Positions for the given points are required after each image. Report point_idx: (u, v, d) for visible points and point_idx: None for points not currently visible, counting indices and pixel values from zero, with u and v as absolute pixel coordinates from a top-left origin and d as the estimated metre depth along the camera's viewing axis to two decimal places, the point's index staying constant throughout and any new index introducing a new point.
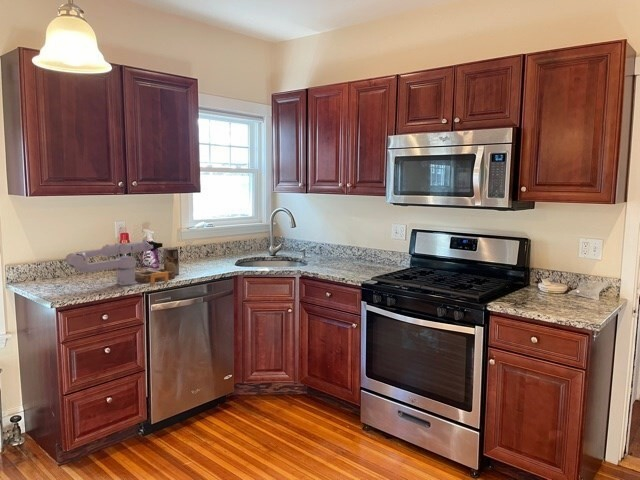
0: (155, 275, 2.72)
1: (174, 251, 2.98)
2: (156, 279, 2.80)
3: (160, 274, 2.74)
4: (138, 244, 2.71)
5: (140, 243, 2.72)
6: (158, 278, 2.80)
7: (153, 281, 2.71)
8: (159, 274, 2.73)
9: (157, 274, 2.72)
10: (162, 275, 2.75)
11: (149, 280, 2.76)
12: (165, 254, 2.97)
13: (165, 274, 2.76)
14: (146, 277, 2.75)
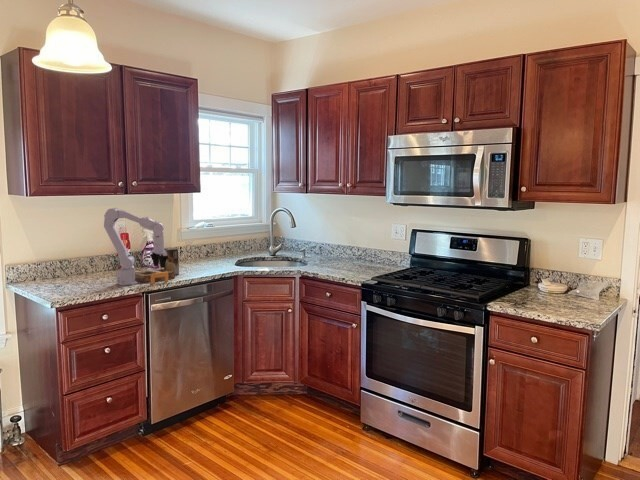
0: (155, 275, 2.72)
1: (174, 251, 2.98)
2: (156, 279, 2.80)
3: (160, 274, 2.74)
4: (163, 243, 2.72)
5: (163, 245, 2.72)
6: (158, 278, 2.80)
7: (153, 281, 2.71)
8: (159, 274, 2.73)
9: (157, 274, 2.72)
10: (162, 275, 2.75)
11: (149, 280, 2.76)
12: None
13: (165, 274, 2.76)
14: (146, 277, 2.75)
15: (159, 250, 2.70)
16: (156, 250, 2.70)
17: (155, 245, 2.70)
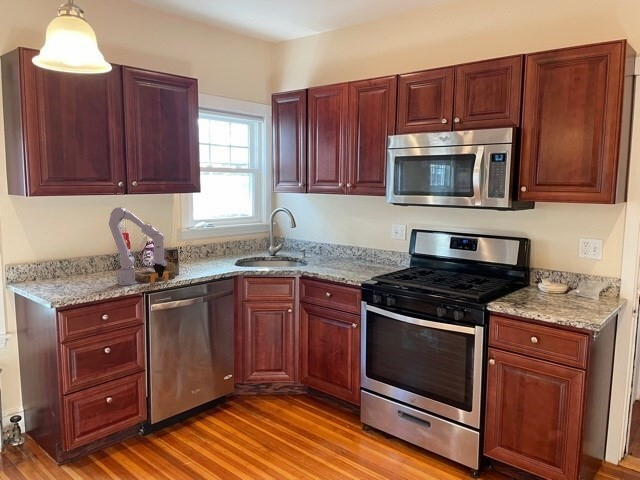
0: (155, 275, 2.72)
1: (174, 251, 2.98)
2: (156, 279, 2.80)
3: None
4: (163, 253, 2.72)
5: (163, 256, 2.73)
6: (158, 278, 2.80)
7: (153, 281, 2.71)
8: None
9: (157, 274, 2.72)
10: None
11: (149, 280, 2.76)
12: (165, 254, 2.97)
13: (165, 274, 2.76)
14: (146, 277, 2.75)
15: (159, 260, 2.71)
16: (156, 260, 2.70)
17: (155, 255, 2.70)
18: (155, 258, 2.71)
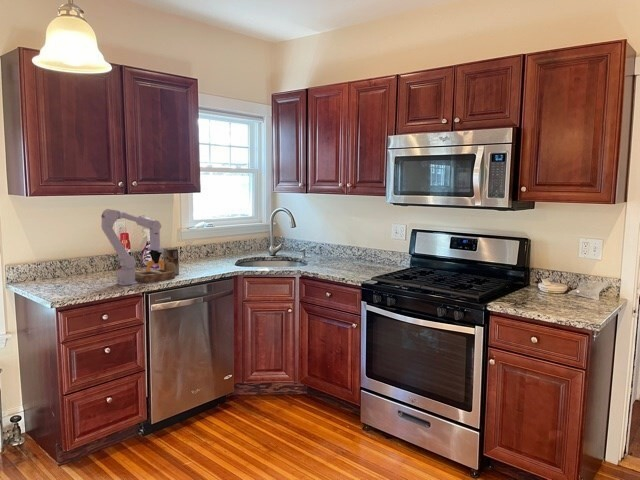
0: (151, 263, 2.77)
1: (174, 251, 2.98)
2: (156, 279, 2.80)
3: None
4: (159, 240, 2.78)
5: (159, 242, 2.79)
6: (158, 278, 2.80)
7: (149, 268, 2.77)
8: None
9: (153, 262, 2.78)
10: (158, 263, 2.81)
11: (149, 280, 2.76)
12: (165, 254, 2.97)
13: (161, 262, 2.82)
14: (146, 277, 2.75)
15: (155, 247, 2.77)
16: (152, 247, 2.76)
17: (151, 242, 2.76)
18: (151, 245, 2.76)
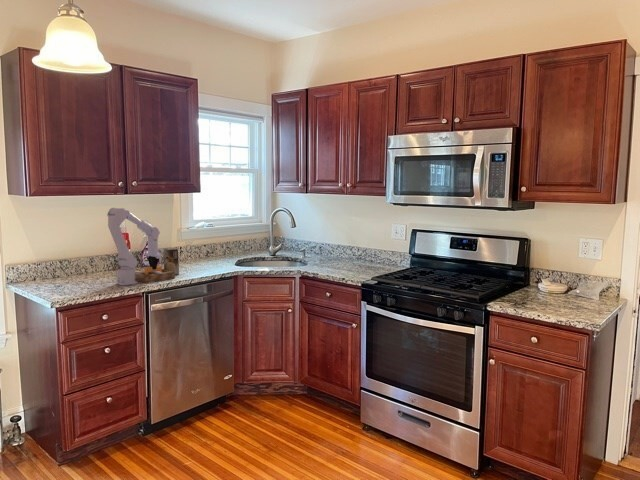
0: (149, 269, 2.82)
1: (174, 251, 2.98)
2: (156, 279, 2.80)
3: None
4: (157, 246, 2.83)
5: (157, 248, 2.84)
6: (158, 278, 2.80)
7: None
8: None
9: (151, 268, 2.83)
10: (156, 269, 2.85)
11: (149, 280, 2.76)
12: (165, 254, 2.97)
13: (158, 268, 2.87)
14: (146, 277, 2.75)
15: (153, 253, 2.81)
16: (150, 253, 2.81)
17: (149, 248, 2.81)
18: (149, 251, 2.81)
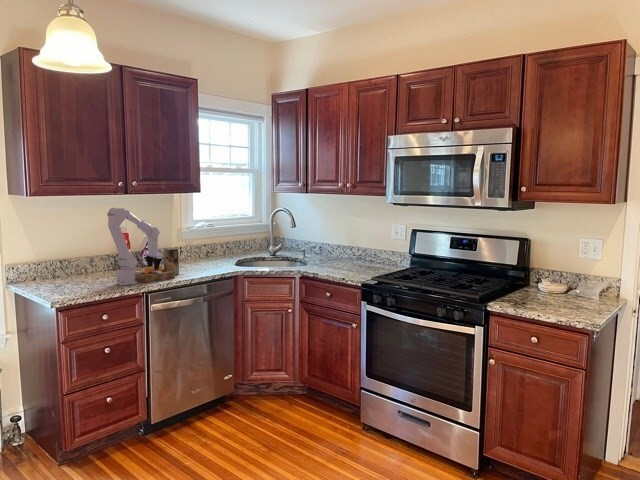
0: (149, 269, 2.82)
1: (174, 251, 2.98)
2: (156, 279, 2.80)
3: None
4: (157, 246, 2.83)
5: (157, 248, 2.84)
6: (158, 278, 2.80)
7: None
8: (153, 268, 2.84)
9: (151, 268, 2.83)
10: None
11: (149, 280, 2.76)
12: (165, 254, 2.97)
13: None
14: (146, 277, 2.75)
15: (153, 253, 2.81)
16: (150, 253, 2.81)
17: (149, 248, 2.81)
18: (149, 251, 2.81)
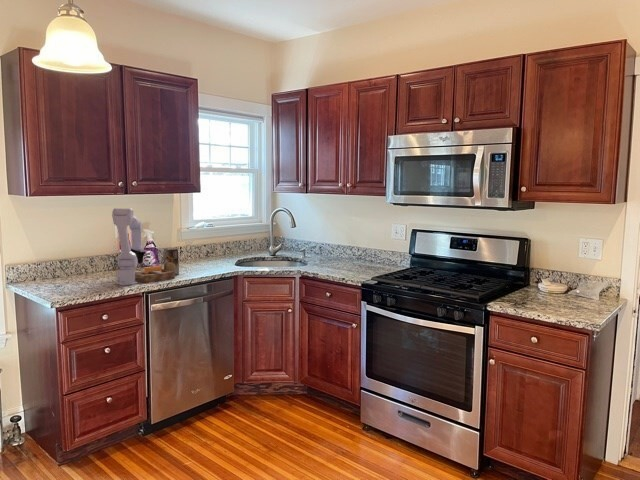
0: (149, 269, 2.82)
1: (174, 251, 2.98)
2: (156, 279, 2.80)
3: (154, 268, 2.85)
4: (140, 240, 2.87)
5: (141, 242, 2.87)
6: (158, 278, 2.80)
7: None
8: (153, 268, 2.84)
9: (151, 268, 2.83)
10: (156, 269, 2.85)
11: (149, 280, 2.76)
12: (165, 254, 2.97)
13: (158, 268, 2.87)
14: (146, 277, 2.75)
15: (137, 246, 2.85)
16: (134, 246, 2.85)
17: (133, 241, 2.84)
18: (133, 244, 2.85)
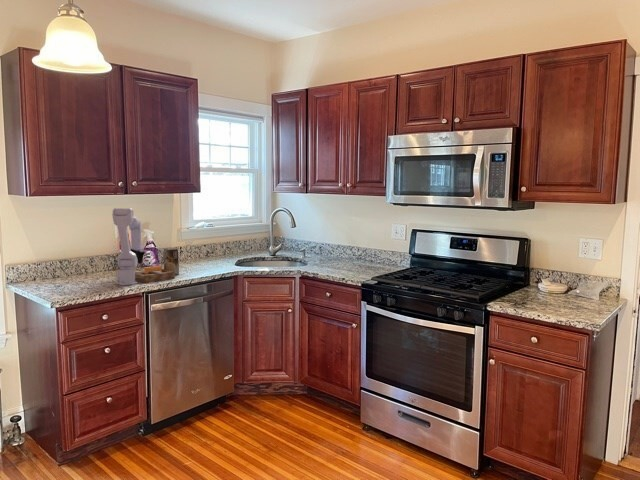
0: (149, 269, 2.82)
1: (174, 251, 2.98)
2: (156, 279, 2.80)
3: (154, 268, 2.85)
4: (140, 240, 2.87)
5: (140, 242, 2.87)
6: (158, 278, 2.80)
7: None
8: (153, 268, 2.84)
9: (151, 268, 2.83)
10: (156, 269, 2.85)
11: (149, 280, 2.76)
12: (165, 254, 2.97)
13: (158, 268, 2.87)
14: (146, 277, 2.75)
15: (136, 246, 2.85)
16: (133, 246, 2.85)
17: (133, 241, 2.84)
18: (132, 244, 2.85)
